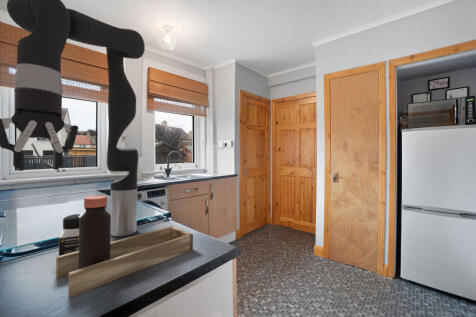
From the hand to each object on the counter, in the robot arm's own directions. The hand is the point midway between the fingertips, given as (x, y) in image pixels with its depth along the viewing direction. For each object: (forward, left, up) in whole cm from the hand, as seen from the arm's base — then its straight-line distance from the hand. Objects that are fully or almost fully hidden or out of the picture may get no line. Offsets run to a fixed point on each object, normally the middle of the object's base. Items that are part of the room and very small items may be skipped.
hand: (38, 169), depth 48 cm
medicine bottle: (-17, +11, -28) cm, 34 cm away
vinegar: (0, +11, -28) cm, 30 cm away
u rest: (0, +21, -27) cm, 35 cm away
